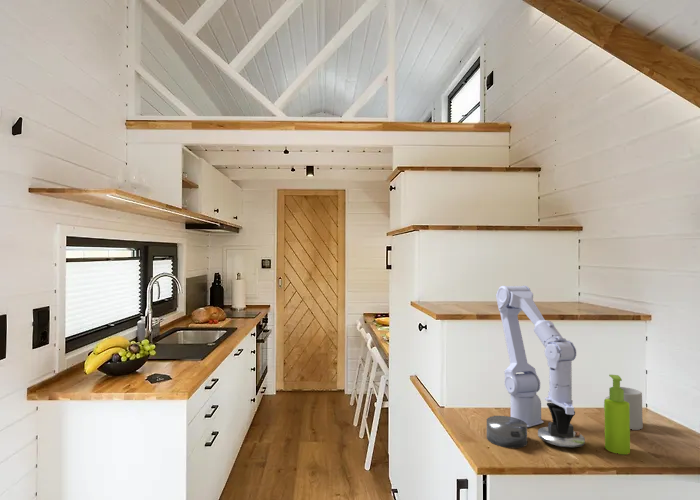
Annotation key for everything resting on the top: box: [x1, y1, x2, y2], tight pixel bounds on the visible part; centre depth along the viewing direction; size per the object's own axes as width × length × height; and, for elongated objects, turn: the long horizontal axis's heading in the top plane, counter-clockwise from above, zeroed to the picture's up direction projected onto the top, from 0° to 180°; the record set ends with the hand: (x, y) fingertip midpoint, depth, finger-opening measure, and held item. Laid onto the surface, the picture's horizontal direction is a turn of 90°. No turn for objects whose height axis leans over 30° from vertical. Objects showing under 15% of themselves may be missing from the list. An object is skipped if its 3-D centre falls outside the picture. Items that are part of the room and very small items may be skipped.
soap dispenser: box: [603, 374, 631, 455], centre depth 118 cm, size 6×7×20 cm
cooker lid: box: [537, 421, 586, 448], centre depth 121 cm, size 12×12×4 cm
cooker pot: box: [486, 415, 528, 449], centre depth 123 cm, size 14×11×5 cm
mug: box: [605, 386, 644, 431], centre depth 135 cm, size 12×8×11 cm
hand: (560, 431), depth 121 cm, fingers closed on cooker lid, 2 cm apart
